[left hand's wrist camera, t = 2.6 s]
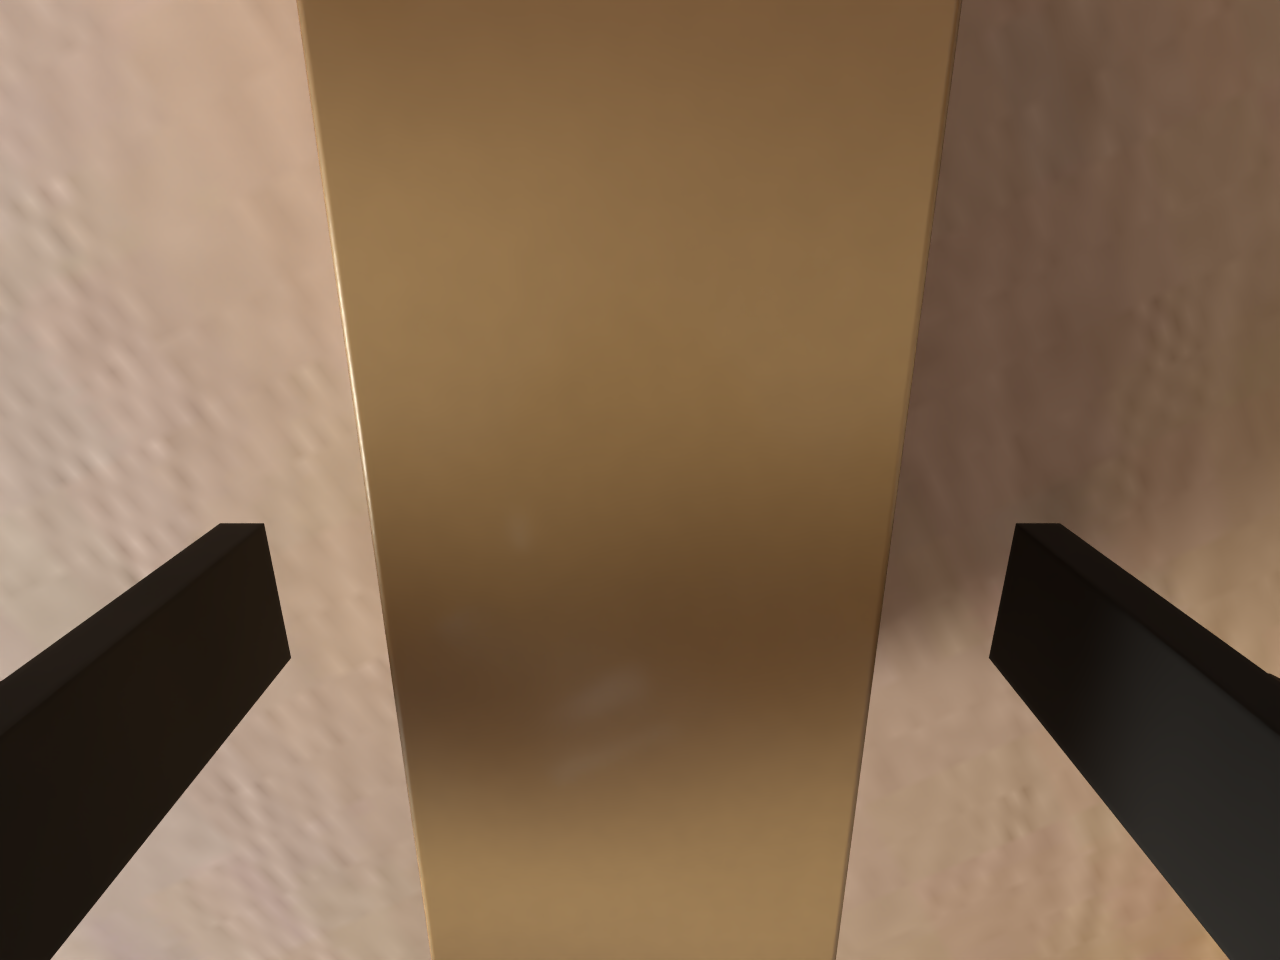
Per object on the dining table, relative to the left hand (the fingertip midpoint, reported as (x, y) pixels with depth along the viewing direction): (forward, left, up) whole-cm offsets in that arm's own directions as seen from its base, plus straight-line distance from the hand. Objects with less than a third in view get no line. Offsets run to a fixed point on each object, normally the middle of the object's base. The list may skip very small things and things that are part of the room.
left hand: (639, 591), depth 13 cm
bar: (+8, 0, -3) cm, 8 cm away
